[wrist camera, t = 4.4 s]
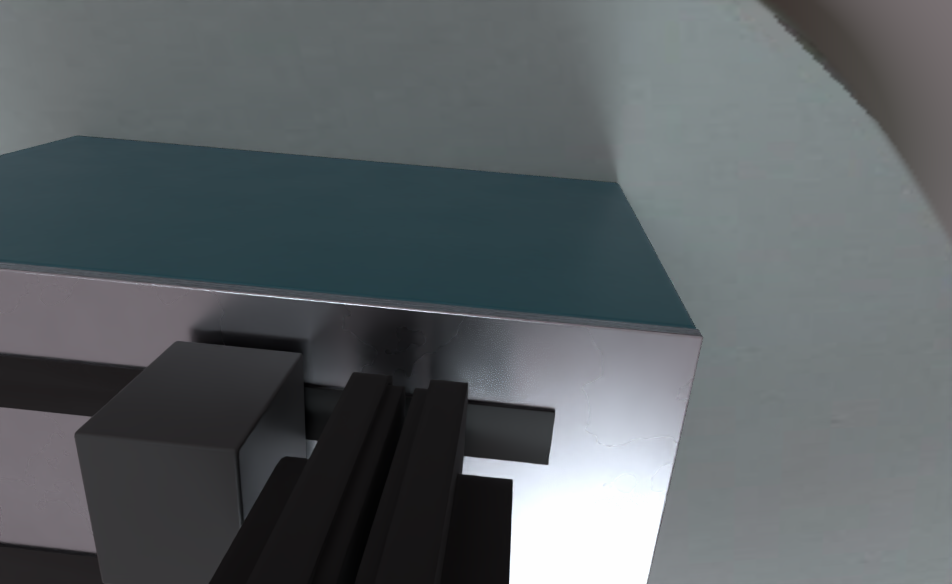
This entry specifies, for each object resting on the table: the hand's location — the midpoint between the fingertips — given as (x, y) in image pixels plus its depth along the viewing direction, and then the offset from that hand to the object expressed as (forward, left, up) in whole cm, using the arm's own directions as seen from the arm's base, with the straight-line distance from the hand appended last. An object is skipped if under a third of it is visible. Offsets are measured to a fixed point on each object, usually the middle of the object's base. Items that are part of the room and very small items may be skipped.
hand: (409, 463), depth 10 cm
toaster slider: (0, -3, -1) cm, 3 cm away
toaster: (+3, -4, -11) cm, 12 cm away
